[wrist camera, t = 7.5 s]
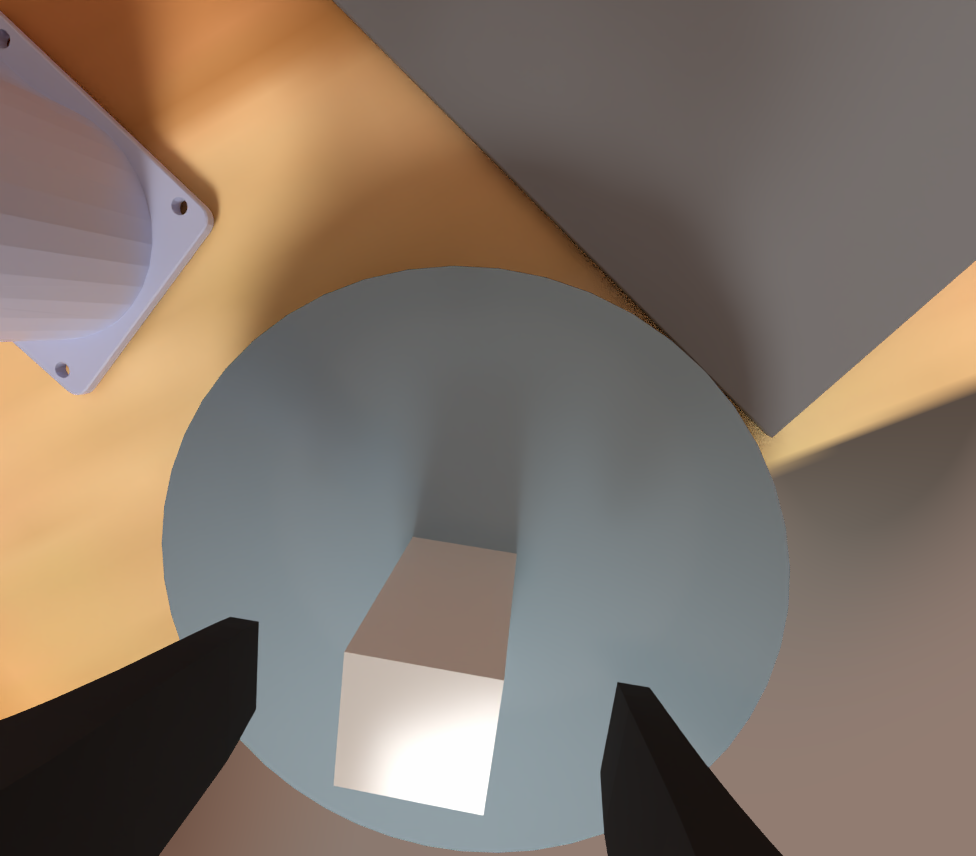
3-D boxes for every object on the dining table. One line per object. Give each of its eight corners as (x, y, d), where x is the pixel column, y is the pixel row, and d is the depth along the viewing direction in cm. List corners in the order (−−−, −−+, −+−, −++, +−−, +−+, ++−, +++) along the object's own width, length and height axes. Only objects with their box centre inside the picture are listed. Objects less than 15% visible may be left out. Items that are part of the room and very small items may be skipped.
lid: (179, 770, 17) (3, 989, 12) (182, 231, 14) (-69, 166, 8) (701, 875, 16) (790, 1176, 10) (851, 315, 13) (1107, 308, 7)
